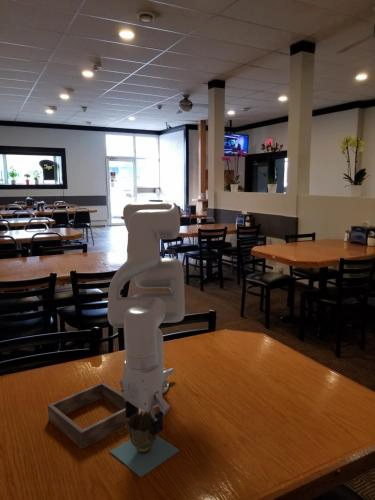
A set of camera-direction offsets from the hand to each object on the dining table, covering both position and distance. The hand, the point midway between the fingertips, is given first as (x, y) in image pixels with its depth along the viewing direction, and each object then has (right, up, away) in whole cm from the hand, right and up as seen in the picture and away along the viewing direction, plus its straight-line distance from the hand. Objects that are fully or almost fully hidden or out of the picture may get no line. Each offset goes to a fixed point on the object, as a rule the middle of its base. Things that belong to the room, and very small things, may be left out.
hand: (143, 423), depth 94 cm
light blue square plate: (0, -7, 0) cm, 7 cm away
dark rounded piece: (0, -7, 0) cm, 7 cm away
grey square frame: (-16, -5, +14) cm, 22 cm away
